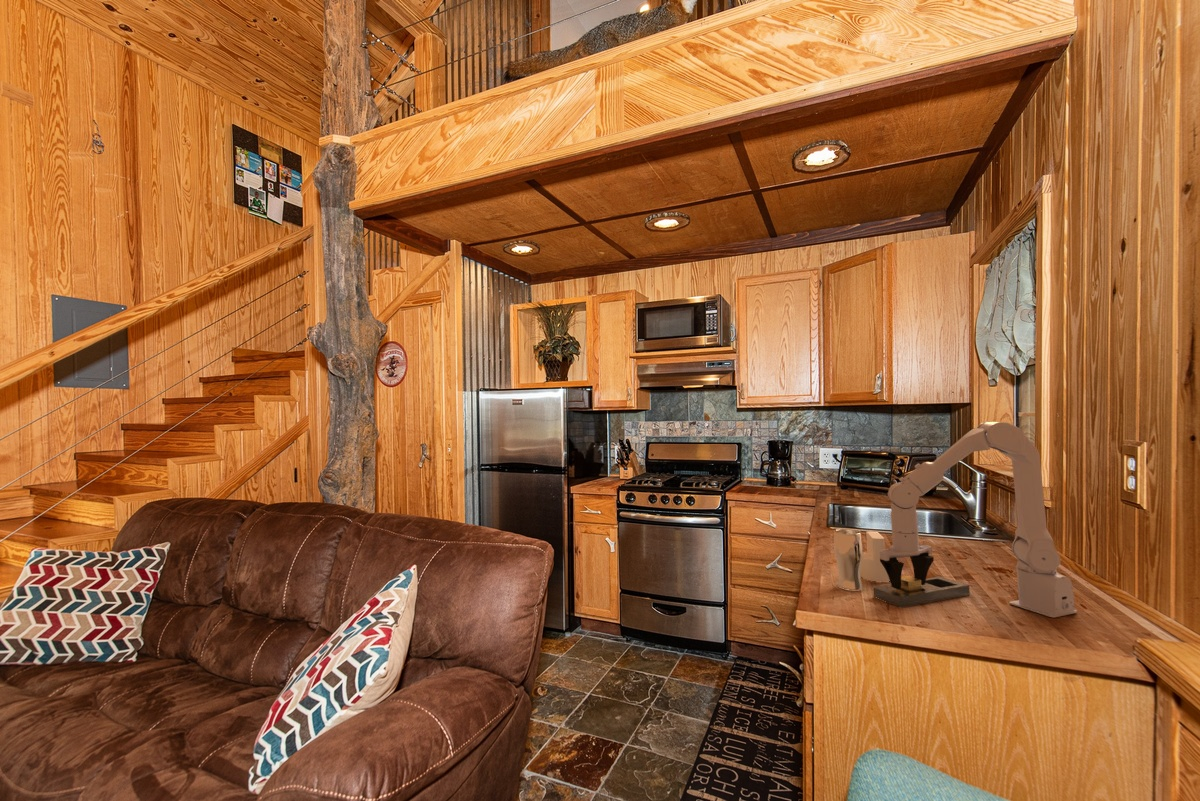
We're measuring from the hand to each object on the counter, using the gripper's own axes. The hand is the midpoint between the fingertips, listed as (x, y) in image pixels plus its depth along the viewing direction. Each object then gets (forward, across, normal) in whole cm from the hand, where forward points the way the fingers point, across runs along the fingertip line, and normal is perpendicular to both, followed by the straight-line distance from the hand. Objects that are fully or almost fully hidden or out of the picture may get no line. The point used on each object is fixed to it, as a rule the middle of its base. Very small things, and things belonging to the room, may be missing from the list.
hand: (908, 585), depth 131 cm
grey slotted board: (+3, -4, 0) cm, 5 cm away
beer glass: (+3, +7, -12) cm, 14 cm away
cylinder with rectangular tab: (+3, -6, -16) cm, 17 cm away
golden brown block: (+3, 0, 0) cm, 3 cm away
